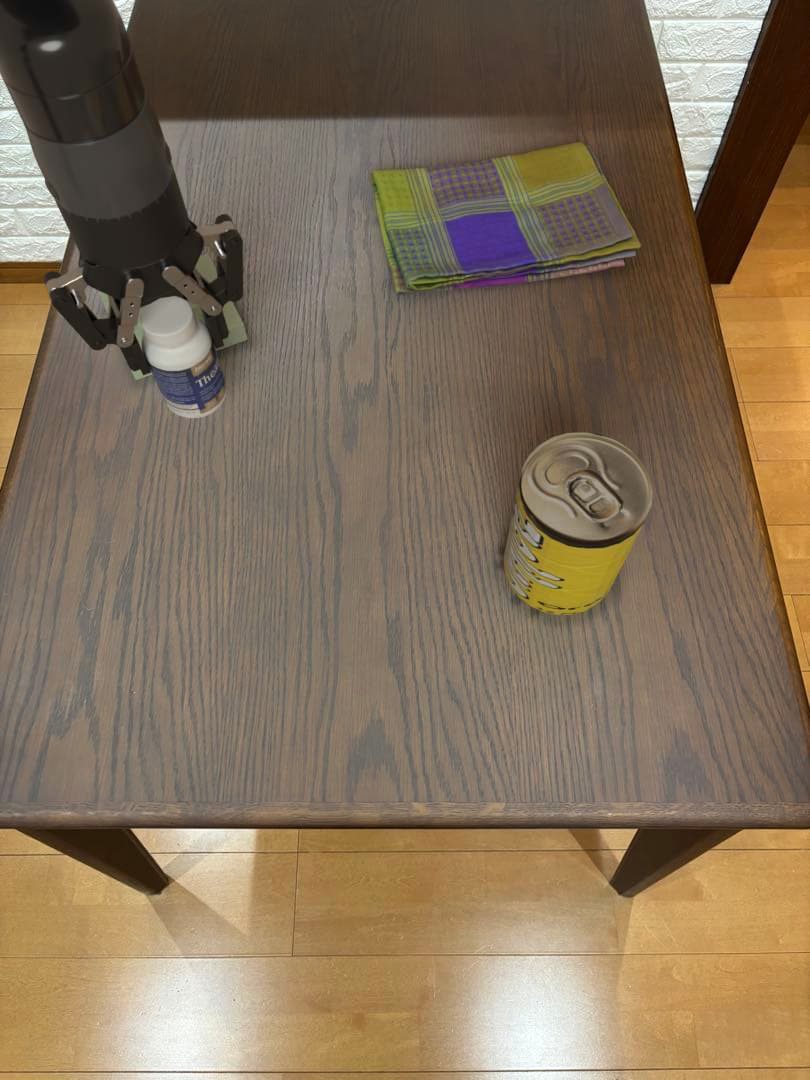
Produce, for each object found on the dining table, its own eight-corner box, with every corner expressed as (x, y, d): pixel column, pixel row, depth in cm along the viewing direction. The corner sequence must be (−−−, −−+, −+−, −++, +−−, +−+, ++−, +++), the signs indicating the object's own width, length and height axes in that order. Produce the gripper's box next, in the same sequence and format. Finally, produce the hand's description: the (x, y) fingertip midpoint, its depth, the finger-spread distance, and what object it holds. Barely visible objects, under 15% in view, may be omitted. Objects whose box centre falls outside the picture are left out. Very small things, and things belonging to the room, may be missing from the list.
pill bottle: (219, 424, 69) (191, 346, 60) (157, 416, 69) (120, 338, 61) (235, 373, 71) (210, 292, 63) (175, 366, 72) (142, 284, 63)
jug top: (135, 380, 76) (122, 352, 72) (105, 306, 80) (91, 276, 76) (248, 340, 78) (240, 310, 74) (213, 269, 82) (203, 238, 78)
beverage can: (558, 495, 69) (583, 410, 59) (638, 568, 66) (680, 492, 56) (480, 558, 67) (491, 481, 56) (559, 637, 64) (587, 571, 53)
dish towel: (368, 181, 87) (367, 159, 85) (591, 152, 89) (596, 129, 87) (396, 304, 79) (395, 283, 77) (640, 269, 81) (647, 248, 79)
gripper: (201, 102, 53) (248, 292, 68) (-20, 169, 51) (80, 351, 66) (241, 173, 50) (281, 355, 65) (7, 248, 48) (106, 420, 63)
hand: (180, 352), depth 65 cm, fingers closed on pill bottle, 5 cm apart
